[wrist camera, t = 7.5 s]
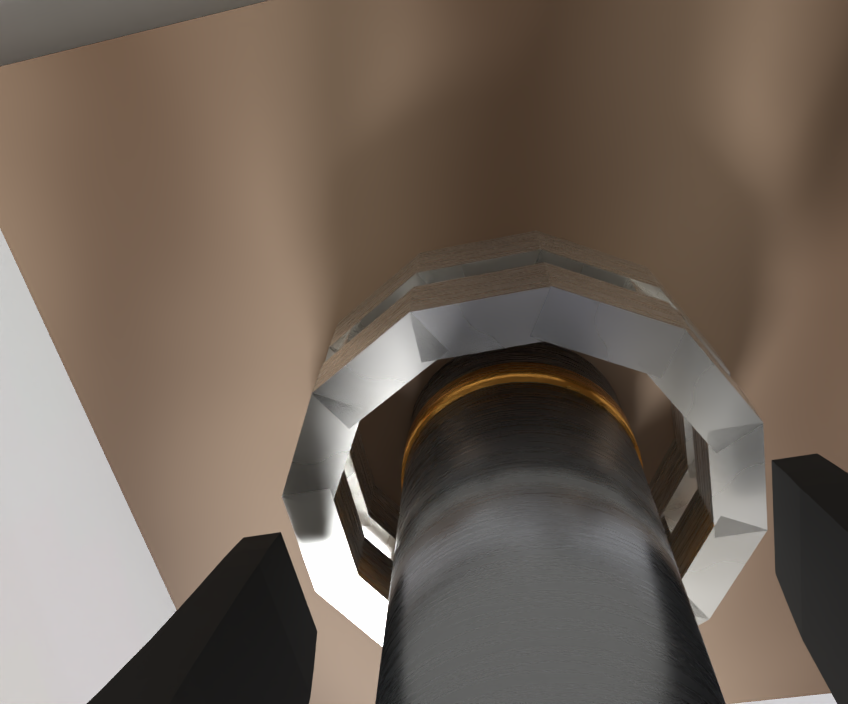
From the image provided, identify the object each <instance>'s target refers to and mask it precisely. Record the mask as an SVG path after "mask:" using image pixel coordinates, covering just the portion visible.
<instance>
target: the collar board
mask: <svg viewBox="0 0 848 704" xmlns="http://www.w3.org/2000/svg"><path fill="white" fill-rule="evenodd" d="M0 228H1V231H2V233H3V235H4V237H5V239H6V241H7V244H8V246H9V248H10V250H11V252H12V254H13V257H14V259H15V261H16V263H17V265H18V267H19V270H20V272H21V274H22V276H23V278H24V280H25V283H26V285H27V287H28V289H29V291H30V293H31V296H32V298H33V300H34V302H35V304H36V306H37V309H38V311H39V313H40V315H41V317H42V319H43V322H44V324H45V326H46V328H47V330H48V332H49V335H50V337H51V339H52V341H53V343H54V345H55V348H56V350H57V352H58V354H59V356H60V358H61V361H62V363H63V365H64V367H65V369H66V371H67V374H68V376H69V378H70V380H71V382H72V384H73V387H74V389H75V391H76V393H77V395H78V397H79V400H80V402H81V404H82V406H83V408H84V410H85V413H86V415H87V417H88V419H89V421H90V423H91V426H92V428H93V430H94V432H95V434H96V436H97V439H98V441H99V443H100V445H101V447H102V449H103V451H104V454H105V456H106V458H107V460H108V462H109V464H110V467H111V469H112V471H113V473H114V475H115V477H116V480H117V482H118V484H119V486H120V488H121V490H122V493H123V495H124V497H125V499H126V501H127V503H128V506H129V508H130V510H131V512H132V514H133V516H134V519H135V521H136V523H137V525H138V527H139V529H140V532H141V534H142V536H143V538H144V540H145V542H146V545H147V547H148V549H149V551H150V553H151V555H152V558H153V560H154V562H155V564H156V566H157V568H158V571H159V573H160V575H161V577H162V579H163V581H164V584H165V586H166V588H167V590H168V592H169V594H170V597H171V599H172V601H173V603H174V605H175V607H176V610H178V609H179V608H180V607H181V605H182V604H183V603H184V602H185V601H186V600H187V599H188V598H189V597H190V596H191V594H192V593H193V592H194V591H195V590H196V589H197V588H198V586H199V585H200V584H201V583H202V582H203V581H204V580H205V579H206V577H207V576H208V575H209V574H210V573H211V572H212V571H213V570H214V568H215V567H216V566H217V565H218V564H219V563H220V562H221V561H222V559H223V558H224V557H225V556H226V555H227V554H228V553H229V552H230V551H231V550H232V549H233V548H234V546H235V545H236V544H237V543H238V542H239V541H240V540H241V539H242V538H243V537H250V536H257V535H264V534H271V533H277V532H281V534H282V536H283V539H284V542H285V545H286V547H287V550H288V553H289V555H290V558H291V561H292V564H293V566H294V569H295V572H296V575H297V577H298V580H299V583H300V585H301V588H302V591H303V594H304V596H305V599H306V602H307V605H308V607H309V610H310V613H311V615H312V618H313V621H314V624H315V626H316V629H317V641H316V652H315V663H314V672H313V680H312V689H311V696H310V701H309V704H375V701H376V693H377V686H378V678H379V670H380V662H381V654H382V646H381V645H380V644H379V643H377V642H376V641H375V640H374V639H373V638H371V637H370V636H369V635H368V634H367V633H365V632H364V631H363V630H362V629H361V628H359V627H358V626H357V625H356V624H355V623H353V622H352V621H351V620H350V619H349V618H347V617H346V616H345V615H344V614H342V613H341V612H340V611H339V610H338V609H336V608H335V607H334V606H333V605H332V604H330V603H329V602H328V601H327V600H326V599H324V598H323V597H322V596H321V595H320V594H318V593H317V592H316V591H315V588H314V586H313V583H312V580H311V577H310V574H309V572H308V569H307V566H306V563H305V560H304V558H303V555H302V552H301V549H300V546H299V544H298V541H297V538H296V535H295V532H294V530H293V527H292V524H291V521H290V519H289V516H288V513H287V510H286V507H285V505H284V502H283V499H282V494H283V490H284V487H285V484H286V480H287V477H288V473H289V470H290V466H291V463H292V460H293V456H294V453H295V449H296V446H297V442H298V439H299V436H300V432H301V429H302V425H303V422H304V418H305V415H306V411H307V408H308V405H309V401H310V398H311V393H312V391H313V388H314V385H315V383H316V380H317V377H318V375H319V372H320V369H321V367H322V364H323V363H324V362H325V359H326V356H327V353H328V349H329V345H330V343H331V340H332V337H333V335H334V332H335V329H336V327H337V324H338V323H339V322H340V321H341V320H342V319H344V318H345V317H346V316H347V315H348V314H349V313H351V312H352V311H353V310H354V309H355V308H356V307H358V306H359V305H360V304H361V303H362V302H363V301H365V300H366V299H367V298H368V297H369V296H370V295H372V294H373V293H374V292H375V291H376V290H377V289H379V288H380V287H381V286H382V285H383V284H384V283H386V282H387V281H388V280H389V279H390V278H391V277H392V276H394V275H395V274H396V273H397V272H398V271H399V270H401V269H402V268H403V267H404V266H405V265H406V264H408V263H409V262H410V261H411V260H412V259H413V258H415V257H416V256H417V255H418V254H419V253H422V252H427V251H432V250H438V249H443V248H448V247H453V246H458V245H463V244H469V243H474V242H479V241H484V240H489V239H495V238H500V237H505V236H510V235H515V234H520V233H526V232H531V231H536V230H537V231H539V232H542V233H545V234H548V235H551V236H555V237H558V238H561V239H564V240H567V241H570V242H573V243H576V244H579V245H582V246H585V247H588V248H591V249H594V250H597V251H600V252H603V253H606V254H609V255H612V256H615V257H619V258H622V259H625V260H628V261H631V262H634V263H637V264H640V265H643V266H646V267H647V268H648V269H649V270H650V272H651V273H652V274H653V275H654V276H655V278H656V279H657V280H658V281H659V282H660V284H661V285H662V286H663V287H664V288H665V290H666V291H667V292H668V293H669V295H670V296H671V297H672V298H673V299H674V301H675V302H676V303H677V304H678V305H679V307H680V308H681V309H682V310H683V311H684V313H685V314H686V315H687V316H688V317H689V319H690V320H691V321H692V322H693V324H694V325H695V326H696V327H697V328H698V330H699V331H700V332H701V333H702V334H703V336H704V337H705V338H706V339H707V340H708V342H709V343H710V344H711V345H712V346H713V348H714V349H715V351H716V352H717V354H718V355H719V357H720V358H721V360H722V361H723V363H724V364H725V366H726V367H727V369H728V370H729V372H730V377H731V378H732V379H733V381H734V382H735V383H736V384H737V385H738V387H739V388H740V389H741V390H742V391H743V393H744V394H745V396H746V397H747V399H748V400H749V402H750V403H751V405H752V406H753V408H754V409H755V411H756V412H757V414H758V415H759V417H760V418H761V420H762V421H763V428H764V454H765V480H766V506H767V529H768V530H767V532H766V533H765V535H764V536H763V538H762V539H761V541H760V542H759V544H758V545H757V547H756V549H755V550H754V552H753V553H752V555H751V556H750V558H749V559H748V561H747V562H746V564H745V565H744V567H743V568H742V570H741V572H740V573H739V575H738V576H737V578H736V579H735V581H734V582H733V584H732V585H731V587H730V588H729V590H728V591H727V593H726V595H725V596H724V598H723V599H722V601H721V602H720V604H719V605H718V607H717V608H716V610H715V611H714V613H713V614H712V616H711V618H710V619H709V620H707V621H706V622H704V623H702V624H700V625H698V627H699V629H700V632H701V635H702V638H703V641H704V644H705V646H706V649H707V652H708V655H709V658H710V661H711V663H712V666H713V669H714V672H715V675H716V678H717V680H718V683H719V686H720V689H721V692H722V694H723V697H724V700H725V703H726V704H733V703H742V702H751V701H761V700H770V699H780V698H789V697H799V696H808V695H818V694H827V693H831V691H830V689H829V688H828V686H827V684H826V682H825V680H824V679H823V677H822V675H821V673H820V671H819V669H818V668H817V666H816V664H815V662H814V660H813V659H812V657H811V655H810V653H809V651H808V649H807V647H806V646H805V644H804V642H803V640H802V638H801V636H800V633H799V631H798V628H797V626H796V624H795V621H794V619H793V616H792V614H791V612H790V609H789V607H788V604H787V602H786V599H785V596H784V594H783V591H782V589H781V586H780V584H779V581H778V579H777V576H776V574H775V549H774V520H773V491H772V462H771V460H775V459H782V458H789V457H796V456H803V455H809V454H816V453H817V454H819V455H821V456H822V457H824V458H825V459H827V460H829V461H830V462H832V463H833V464H835V465H836V466H838V467H839V468H841V469H842V470H844V471H845V472H847V473H848V0H269V1H265V2H261V3H256V4H252V5H248V6H244V7H240V8H236V9H232V10H228V11H224V12H220V13H216V14H212V15H208V16H204V17H200V18H195V19H191V20H187V21H183V22H179V23H175V24H171V25H167V26H163V27H159V28H155V29H151V30H147V31H143V32H139V33H134V34H130V35H126V36H122V37H118V38H114V39H110V40H106V41H102V42H98V43H94V44H90V45H86V46H82V47H77V48H73V49H69V50H65V51H61V52H57V53H53V54H49V55H45V56H41V57H37V58H33V59H29V60H25V61H21V62H16V63H12V64H8V65H4V66H0ZM543 342H545V341H543ZM547 343H548V342H547ZM551 344H552V343H551ZM560 347H561V346H560ZM563 348H564V347H563ZM566 349H567V348H566ZM568 350H570V351H572V352H574V353H576V354H578V355H580V356H581V357H583V358H584V359H586V360H587V361H588V362H590V363H591V364H592V365H593V366H594V367H596V368H597V369H598V370H599V371H600V372H601V373H602V375H603V376H604V377H605V378H606V379H607V381H608V382H609V383H610V385H611V387H612V388H613V390H614V392H615V394H616V396H617V399H618V401H619V404H620V406H621V409H622V411H623V413H624V414H625V416H626V418H627V419H628V422H629V424H630V427H631V429H632V431H633V434H634V437H635V440H636V442H637V445H638V448H639V451H640V455H641V459H642V463H643V471H644V474H645V477H646V480H647V483H648V485H649V484H650V482H651V480H652V478H653V477H654V475H655V473H656V471H657V469H658V467H659V466H660V464H661V462H662V460H663V458H664V456H665V455H666V453H667V451H668V449H669V447H670V446H671V444H672V442H673V440H674V428H673V417H672V407H671V401H670V400H669V399H668V397H667V396H666V395H665V394H664V393H663V392H662V391H661V389H660V388H659V387H658V386H657V385H656V384H655V383H654V381H653V380H652V379H651V378H650V377H649V376H648V375H647V374H646V373H644V372H640V371H637V370H634V369H631V368H628V367H625V366H621V365H618V364H615V363H612V362H609V361H606V360H602V359H599V358H596V357H593V356H590V355H586V354H583V353H580V352H577V351H574V350H571V349H568ZM453 358H454V357H450V358H445V359H439V360H436V361H435V362H433V363H432V364H431V365H429V366H428V367H427V368H426V369H424V370H423V371H422V372H421V373H419V374H418V375H417V376H416V377H414V378H413V379H412V380H410V381H409V382H408V383H407V384H405V385H404V386H403V387H402V388H400V389H399V390H398V391H397V392H395V393H394V394H393V395H391V396H390V397H389V398H388V399H386V400H385V401H384V402H383V403H381V404H380V405H379V406H378V407H376V408H375V409H374V410H372V411H371V412H370V413H369V414H367V415H366V416H365V417H364V418H362V419H361V420H360V421H359V424H358V429H359V433H360V436H361V440H362V443H363V446H364V450H365V453H366V457H367V460H368V463H369V467H370V470H371V474H372V477H373V480H374V484H375V485H376V486H377V487H378V488H379V489H381V490H382V491H383V492H384V493H385V494H386V495H387V496H388V497H389V498H390V499H391V500H393V501H394V502H395V503H396V504H397V505H398V506H399V507H400V503H401V495H402V487H401V474H402V464H403V456H404V449H405V444H406V440H407V436H408V433H409V431H410V424H411V417H412V413H413V409H414V406H415V403H416V401H417V399H418V396H419V394H420V393H421V391H422V389H423V388H424V386H425V384H426V383H427V382H428V381H429V379H430V378H431V377H432V376H433V375H434V374H435V373H436V372H437V371H438V370H439V369H440V368H441V367H442V366H443V365H444V364H446V363H447V362H449V361H450V360H451V359H453Z"/></svg>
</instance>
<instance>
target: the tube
mask: <svg viewBox="0 0 848 704" xmlns="http://www.w3.org/2000/svg"><path fill="white" fill-rule="evenodd" d="M401 487H402V495H401V503H400V511H399V519H398V527H397V535H396V543H395V551H394V559H393V567H392V574H391V582H390V590H389V598H388V606H387V614H386V622H385V630H384V638H383V646H382V654H381V662H380V670H379V678H378V686H377V693H376V701H375V704H726V703H725V700H724V697H723V694H722V692H721V689H720V686H719V683H718V680H717V678H716V675H715V672H714V669H713V666H712V663H711V661H710V658H709V655H708V652H707V649H706V646H705V644H704V641H703V638H702V635H701V632H700V629H699V627H698V624H697V621H696V618H695V615H694V613H693V610H692V607H691V604H690V601H689V598H688V596H687V593H686V590H685V587H684V584H683V581H682V579H681V576H680V573H679V570H678V567H677V565H676V562H675V559H674V556H673V553H672V550H671V548H670V545H669V542H668V539H667V536H666V533H665V531H664V528H663V525H662V522H661V519H660V516H659V514H658V511H657V508H656V505H655V502H654V500H653V497H652V494H651V491H650V488H649V485H648V483H647V480H646V477H645V474H644V471H643V463H642V459H641V455H640V451H639V448H638V445H637V442H636V440H635V437H634V434H633V431H632V429H631V427H630V424H629V422H628V419H627V418H626V416H625V414H624V413H623V411H622V409H621V406H620V404H619V401H618V399H617V396H616V394H615V392H614V390H613V388H612V387H611V385H610V383H609V382H608V381H607V379H606V378H605V377H604V376H603V375H602V373H601V372H600V371H599V370H598V369H597V368H596V367H594V366H593V365H592V364H591V363H590V362H588V361H587V360H586V359H584V358H583V357H581V356H580V355H578V354H576V353H574V352H572V351H570V350H568V349H566V348H563V347H560V346H558V345H555V344H551V343H547V342H537V343H531V344H525V345H520V346H514V347H508V348H502V349H497V350H491V351H485V352H479V353H474V354H468V355H462V356H456V357H454V358H453V359H451V360H450V361H449V362H447V363H446V364H444V365H443V366H442V367H441V368H440V369H439V370H438V371H437V372H436V373H435V374H434V375H433V376H432V377H431V378H430V379H429V381H428V382H427V383H426V384H425V386H424V388H423V389H422V391H421V393H420V394H419V396H418V399H417V401H416V403H415V406H414V409H413V413H412V417H411V424H410V431H409V433H408V436H407V440H406V444H405V449H404V456H403V464H402V474H401Z"/></svg>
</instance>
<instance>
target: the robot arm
mask: <svg viewBox="0 0 848 704" xmlns="http://www.w3.org/2000/svg"><path fill="white" fill-rule="evenodd" d="M771 462H772V491H773V520H774V549H775V574H776V576H777V579H778V581H779V584H780V586H781V589H782V591H783V594H784V596H785V599H786V602H787V604H788V607H789V609H790V612H791V614H792V616H793V619H794V621H795V624H796V626H797V628H798V631H799V633H800V636H801V638H802V640H803V642H804V644H805V646H806V647H807V649H808V651H809V653H810V655H811V657H812V659H813V660H814V662H815V664H816V666H817V668H818V669H819V671H820V673H821V675H822V677H823V679H824V680H825V682H826V684H827V686H828V688H829V689H830V691H831V693H832V695H833V697H834V698H835V700H836V702H837V704H848V473H847V472H845V471H844V470H842V469H841V468H839V467H838V466H836V465H835V464H833V463H832V462H830V461H829V460H827V459H825V458H824V457H822V456H821V455H819V454H817V453H816V454H809V455H803V456H796V457H789V458H782V459H775V460H771ZM316 641H317V629H316V626H315V624H314V621H313V618H312V615H311V613H310V610H309V607H308V605H307V602H306V599H305V596H304V594H303V591H302V588H301V585H300V583H299V580H298V577H297V575H296V572H295V569H294V566H293V564H292V561H291V558H290V555H289V553H288V550H287V547H286V545H285V542H284V539H283V536H282V534H281V532H277V533H271V534H264V535H257V536H250V537H243V538H242V539H241V540H240V541H239V542H238V543H237V544H236V545H235V546H234V548H233V549H232V550H231V551H230V552H229V553H228V554H227V555H226V556H225V557H224V558H223V559H222V561H221V562H220V563H219V564H218V565H217V566H216V567H215V568H214V570H213V571H212V572H211V573H210V574H209V575H208V576H207V577H206V579H205V580H204V581H203V582H202V583H201V584H200V585H199V586H198V588H197V589H196V590H195V591H194V592H193V593H192V594H191V596H190V597H189V598H188V599H187V600H186V601H185V602H184V603H183V604H182V605H181V607H180V608H179V609H178V610H177V611H176V612H175V613H174V614H173V615H172V617H171V618H170V619H169V620H168V621H167V622H166V623H165V624H164V625H163V626H162V628H161V629H160V630H159V631H158V632H157V633H156V634H155V635H154V636H153V637H152V639H151V640H150V641H149V642H148V643H147V644H146V645H145V646H144V647H143V648H142V649H141V650H140V651H139V652H138V653H137V654H136V655H135V656H134V657H133V658H132V659H131V660H130V661H129V662H128V663H127V664H126V665H125V666H124V667H123V668H122V669H121V670H120V671H119V672H118V673H117V674H116V675H115V676H114V677H113V678H112V679H111V680H110V681H109V682H108V683H107V684H106V685H105V687H104V688H103V689H102V690H101V691H100V692H99V693H97V694H96V695H95V696H94V697H93V698H92V699H91V700H90V701H89V702H88V703H87V704H309V701H310V696H311V689H312V680H313V672H314V663H315V652H316Z"/></svg>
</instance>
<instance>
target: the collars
mask: <svg viewBox="0 0 848 704" xmlns="http://www.w3.org/2000/svg"><path fill="white" fill-rule="evenodd" d="M543 341H545V342H548V343H552V344H555V345H558V346H561V347H564V348H567V349H571V350H574V351H577V352H580V353H583V354H586V355H590V356H593V357H596V358H599V359H602V360H606V361H609V362H612V363H615V364H618V365H621V366H625V367H628V368H631V369H634V370H637V371H640V372H644V373H646V374H647V375H648V376H649V377H650V378H651V379H652V380H653V381H654V383H655V384H656V385H657V386H658V387H659V388H660V389H661V391H662V392H663V393H664V394H665V395H666V396H667V397H668V399H669V400H670V401H671V407H672V417H673V428H674V440H673V442H672V444H671V446H670V447H669V449H668V451H667V453H666V455H665V456H664V458H663V460H662V462H661V464H660V466H659V467H658V469H657V471H656V473H655V475H654V477H653V478H652V480H651V482H650V484H649V488H650V491H651V494H652V497H653V500H654V502H655V505H656V508H657V511H658V514H659V516H660V519H661V522H662V525H663V528H664V531H665V533H666V536H667V539H668V542H669V545H670V548H671V550H672V553H673V556H674V559H675V562H676V565H677V567H678V570H679V573H680V576H681V579H682V581H683V584H684V587H685V590H686V593H687V596H688V598H689V601H690V604H691V607H692V610H693V613H694V615H695V618H696V621H697V624H698V625H700V624H702V623H704V622H706V621H707V620H709V619H710V618H711V616H712V614H713V613H714V611H715V610H716V608H717V607H718V605H719V604H720V602H721V601H722V599H723V598H724V596H725V595H726V593H727V591H728V590H729V588H730V587H731V585H732V584H733V582H734V581H735V579H736V578H737V576H738V575H739V573H740V572H741V570H742V568H743V567H744V565H745V564H746V562H747V561H748V559H749V558H750V556H751V555H752V553H753V552H754V550H755V549H756V547H757V545H758V544H759V542H760V541H761V539H762V538H763V536H764V535H765V533H766V532H767V530H768V529H767V506H766V480H765V454H764V428H763V421H762V420H761V418H760V417H759V415H758V414H757V412H756V411H755V409H754V408H753V406H752V405H751V403H750V402H749V400H748V399H747V397H746V396H745V394H744V393H743V391H742V390H741V389H740V388H739V387H738V385H737V384H736V383H735V382H734V381H733V379H732V378H731V377H730V372H729V370H728V369H727V367H726V366H725V364H724V363H723V361H722V360H721V358H720V357H719V355H718V354H717V352H716V351H715V349H714V348H713V346H712V345H711V344H710V343H709V342H708V340H707V339H706V338H705V337H704V336H703V334H702V333H701V332H700V331H699V330H698V328H697V327H696V326H695V325H694V324H693V322H692V321H691V320H690V319H689V317H688V316H687V315H686V314H685V313H684V311H683V310H682V309H681V308H680V307H679V305H678V304H677V303H676V302H675V301H674V299H673V298H672V297H671V296H670V295H669V293H668V292H667V291H666V290H665V288H664V287H663V286H662V285H661V284H660V282H659V281H658V280H657V279H656V278H655V276H654V275H653V274H652V273H651V272H650V270H649V269H648V268H647V267H646V266H643V265H640V264H637V263H634V262H631V261H628V260H625V259H622V258H619V257H615V256H612V255H609V254H606V253H603V252H600V251H597V250H594V249H591V248H588V247H585V246H582V245H579V244H576V243H573V242H570V241H567V240H564V239H561V238H558V237H555V236H551V235H548V234H545V233H542V232H539V231H537V230H536V231H531V232H526V233H520V234H515V235H510V236H505V237H500V238H495V239H489V240H484V241H479V242H474V243H469V244H463V245H458V246H453V247H448V248H443V249H438V250H432V251H427V252H422V253H419V254H418V255H417V256H416V257H415V258H413V259H412V260H411V261H410V262H409V263H408V264H406V265H405V266H404V267H403V268H402V269H401V270H399V271H398V272H397V273H396V274H395V275H394V276H392V277H391V278H390V279H389V280H388V281H387V282H386V283H384V284H383V285H382V286H381V287H380V288H379V289H377V290H376V291H375V292H374V293H373V294H372V295H370V296H369V297H368V298H367V299H366V300H365V301H363V302H362V303H361V304H360V305H359V306H358V307H356V308H355V309H354V310H353V311H352V312H351V313H349V314H348V315H347V316H346V317H345V318H344V319H342V320H341V321H340V322H339V323H338V324H337V327H336V329H335V332H334V335H333V337H332V340H331V343H330V345H329V349H328V353H327V356H326V359H325V362H324V363H323V364H322V367H321V369H320V372H319V375H318V377H317V380H316V383H315V385H314V388H313V391H312V393H311V398H310V401H309V405H308V408H307V411H306V415H305V418H304V422H303V425H302V429H301V432H300V436H299V439H298V442H297V446H296V449H295V453H294V456H293V460H292V463H291V466H290V470H289V473H288V477H287V480H286V484H285V487H284V490H283V494H282V499H283V502H284V505H285V507H286V510H287V513H288V516H289V519H290V521H291V524H292V527H293V530H294V532H295V535H296V538H297V541H298V544H299V546H300V549H301V552H302V555H303V558H304V560H305V563H306V566H307V569H308V572H309V574H310V577H311V580H312V583H313V586H314V588H315V591H316V592H317V593H318V594H320V595H321V596H322V597H323V598H324V599H326V600H327V601H328V602H329V603H330V604H332V605H333V606H334V607H335V608H336V609H338V610H339V611H340V612H341V613H342V614H344V615H345V616H346V617H347V618H349V619H350V620H351V621H352V622H353V623H355V624H356V625H357V626H358V627H359V628H361V629H362V630H363V631H364V632H365V633H367V634H368V635H369V636H370V637H371V638H373V639H374V640H375V641H376V642H377V643H379V644H380V645H381V646H383V638H384V630H385V622H386V614H387V606H388V598H389V590H390V582H391V574H392V567H393V559H394V551H395V543H396V535H397V527H398V519H399V511H400V507H399V506H398V505H397V504H396V503H395V502H394V501H393V500H391V499H390V498H389V497H388V496H387V495H386V494H385V493H384V492H383V491H382V490H381V489H379V488H378V487H377V486H376V485H375V484H374V480H373V477H372V474H371V470H370V467H369V463H368V460H367V457H366V453H365V450H364V446H363V443H362V440H361V436H360V433H359V429H358V424H359V421H360V420H361V419H362V418H364V417H365V416H366V415H367V414H369V413H370V412H371V411H372V410H374V409H375V408H376V407H378V406H379V405H380V404H381V403H383V402H384V401H385V400H386V399H388V398H389V397H390V396H391V395H393V394H394V393H395V392H397V391H398V390H399V389H400V388H402V387H403V386H404V385H405V384H407V383H408V382H409V381H410V380H412V379H413V378H414V377H416V376H417V375H418V374H419V373H421V372H422V371H423V370H424V369H426V368H427V367H428V366H429V365H431V364H432V363H433V362H435V361H436V360H439V359H445V358H450V357H456V356H462V355H468V354H474V353H479V352H485V351H491V350H497V349H502V348H508V347H514V346H520V345H525V344H531V343H537V342H543Z"/></svg>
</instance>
